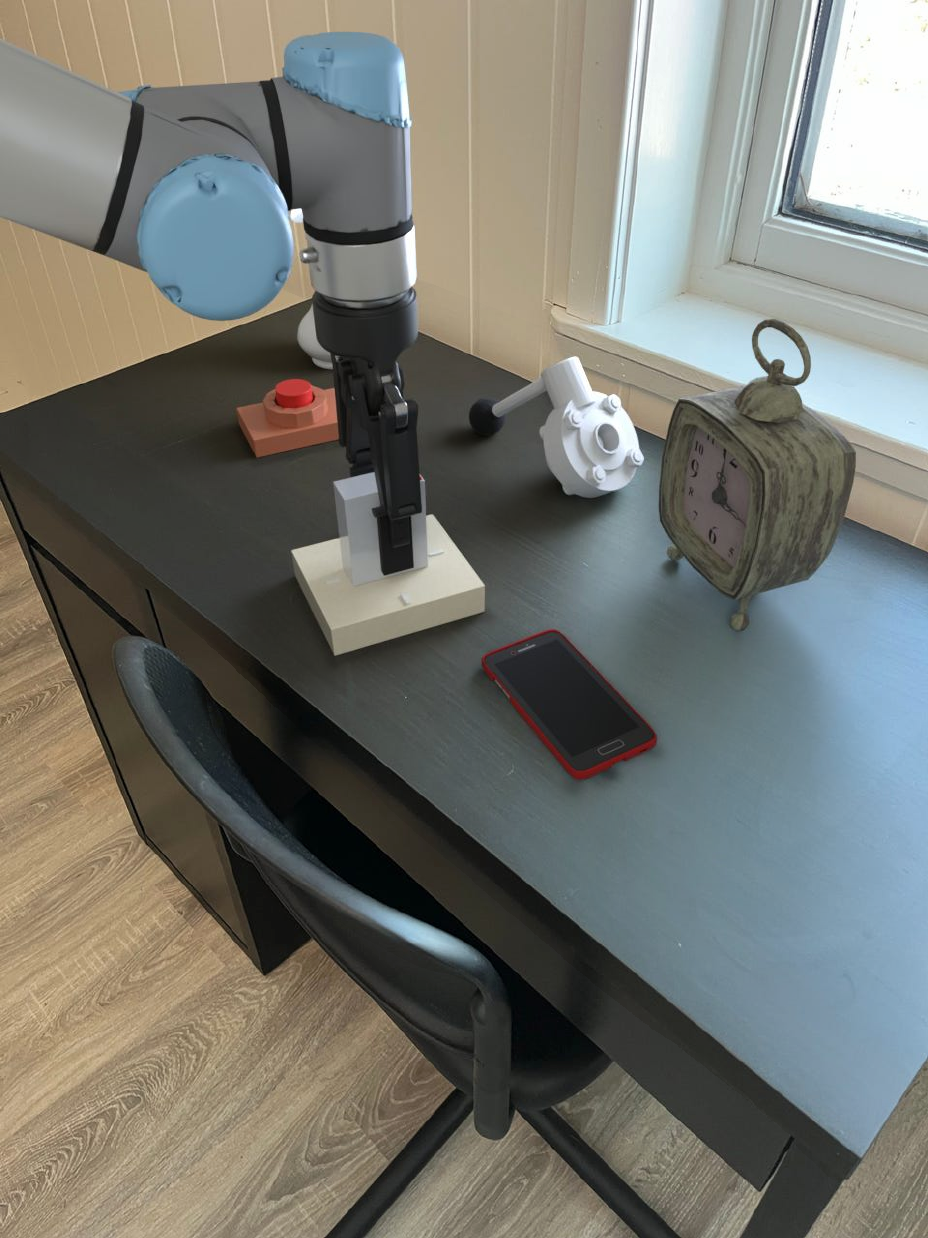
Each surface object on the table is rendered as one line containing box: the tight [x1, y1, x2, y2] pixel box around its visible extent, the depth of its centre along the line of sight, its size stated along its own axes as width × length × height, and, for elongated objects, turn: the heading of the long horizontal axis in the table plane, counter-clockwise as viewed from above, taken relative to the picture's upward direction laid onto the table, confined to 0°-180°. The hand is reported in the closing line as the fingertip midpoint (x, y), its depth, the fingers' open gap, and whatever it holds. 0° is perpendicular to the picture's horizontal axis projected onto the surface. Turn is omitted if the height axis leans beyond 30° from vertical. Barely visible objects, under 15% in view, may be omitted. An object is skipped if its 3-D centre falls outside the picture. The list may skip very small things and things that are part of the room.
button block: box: [236, 384, 339, 458], centre depth 107 cm, size 12×8×4 cm, turn 114°
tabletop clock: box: [658, 318, 857, 632], centre depth 78 cm, size 14×9×25 cm, turn 21°
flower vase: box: [289, 209, 333, 370], centre depth 114 cm, size 13×18×25 cm
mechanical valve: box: [468, 356, 645, 499], centre depth 101 cm, size 10×18×15 cm
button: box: [274, 378, 313, 408], centre depth 106 cm, size 4×4×2 cm
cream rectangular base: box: [290, 513, 486, 657], centre depth 85 cm, size 14×12×3 cm
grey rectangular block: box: [332, 472, 428, 586], centre depth 81 cm, size 7×3×9 cm, turn 114°
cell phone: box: [481, 628, 658, 781], centre depth 75 cm, size 8×15×1 cm, turn 29°
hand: (384, 547), depth 83 cm, fingers open, 6 cm apart
